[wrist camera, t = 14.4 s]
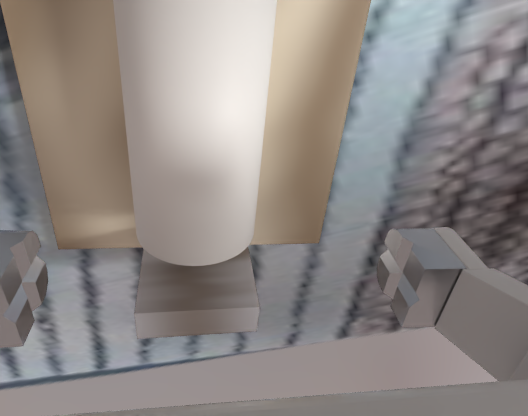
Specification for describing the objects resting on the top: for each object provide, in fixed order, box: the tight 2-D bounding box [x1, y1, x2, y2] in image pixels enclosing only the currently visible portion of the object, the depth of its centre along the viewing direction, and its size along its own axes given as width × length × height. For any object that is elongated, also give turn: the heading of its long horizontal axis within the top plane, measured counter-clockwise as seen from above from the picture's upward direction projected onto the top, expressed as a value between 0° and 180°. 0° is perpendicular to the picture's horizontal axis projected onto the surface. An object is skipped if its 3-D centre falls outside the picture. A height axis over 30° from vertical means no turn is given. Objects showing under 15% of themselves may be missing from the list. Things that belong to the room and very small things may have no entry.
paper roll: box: [113, 0, 277, 266], centre depth 15 cm, size 11×5×5 cm
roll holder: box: [0, 0, 371, 339], centre depth 15 cm, size 14×16×7 cm
